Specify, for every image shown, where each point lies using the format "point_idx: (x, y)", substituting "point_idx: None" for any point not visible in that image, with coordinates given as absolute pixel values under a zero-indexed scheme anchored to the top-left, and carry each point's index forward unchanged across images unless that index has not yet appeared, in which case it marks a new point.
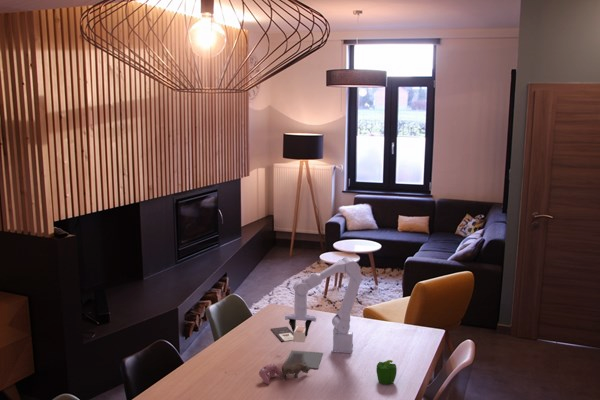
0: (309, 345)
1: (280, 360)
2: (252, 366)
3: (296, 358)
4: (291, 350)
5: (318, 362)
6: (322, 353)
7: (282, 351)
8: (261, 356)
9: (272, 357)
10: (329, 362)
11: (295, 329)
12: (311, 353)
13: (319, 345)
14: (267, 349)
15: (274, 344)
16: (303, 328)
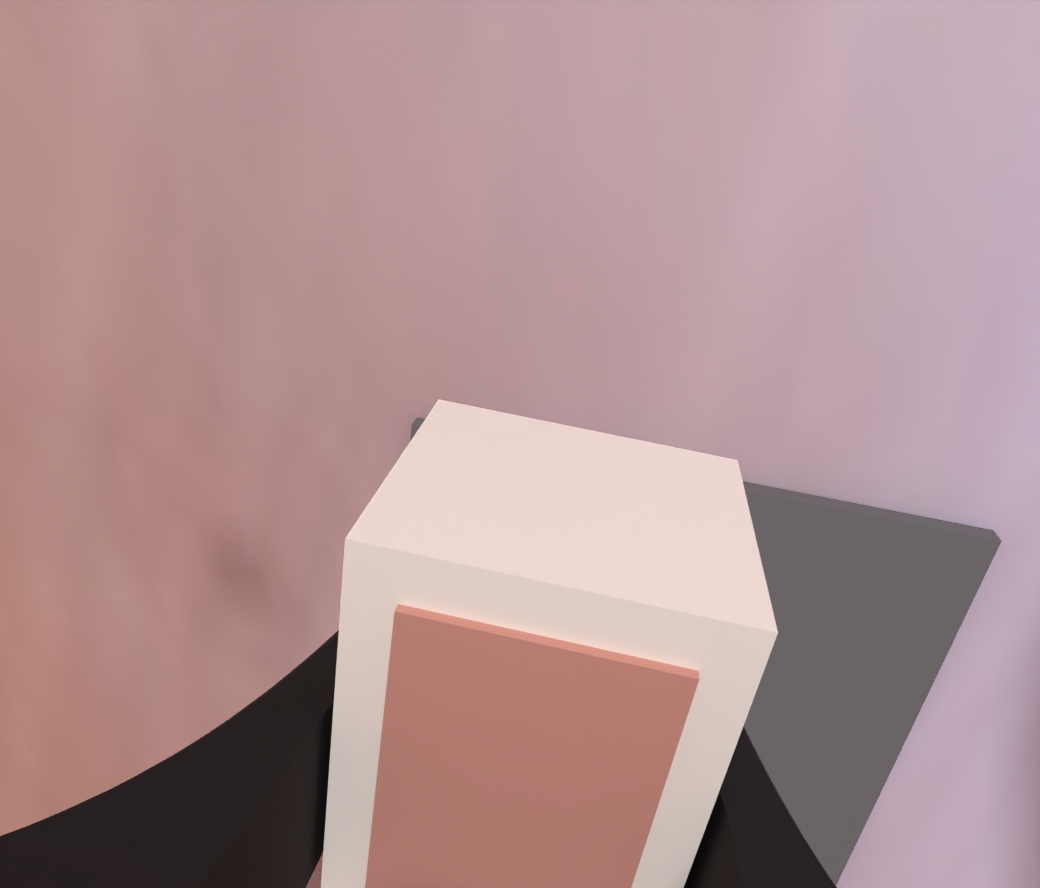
0: (782, 110)
1: None
2: (21, 805)
3: None
4: (411, 430)
5: (835, 842)
6: (980, 571)
7: (267, 412)
8: (17, 571)
9: (171, 610)
10: (1012, 814)
11: (341, 830)
12: (769, 559)
13: (1028, 102)
14: (7, 326)
15: (47, 78)
16: (606, 820)
